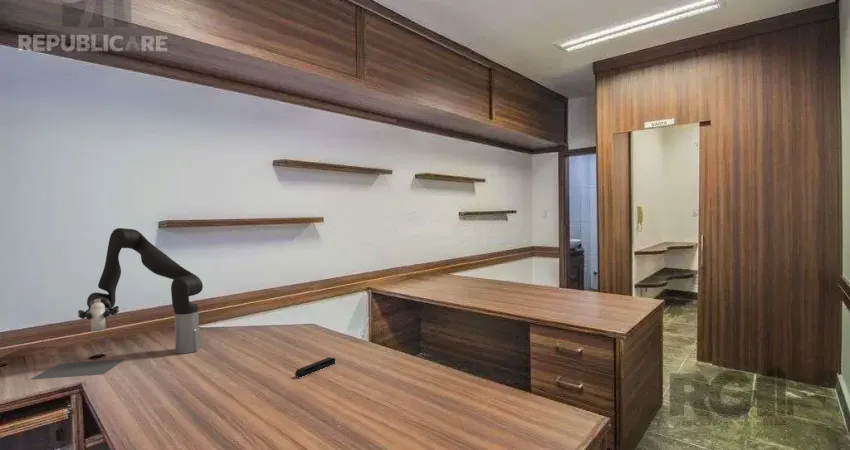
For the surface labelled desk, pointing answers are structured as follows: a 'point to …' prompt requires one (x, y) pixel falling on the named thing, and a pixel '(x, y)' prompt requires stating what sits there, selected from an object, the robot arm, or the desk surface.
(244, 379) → the desk surface
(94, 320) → the white domed bottle
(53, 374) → the desk mat
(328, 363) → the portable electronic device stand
